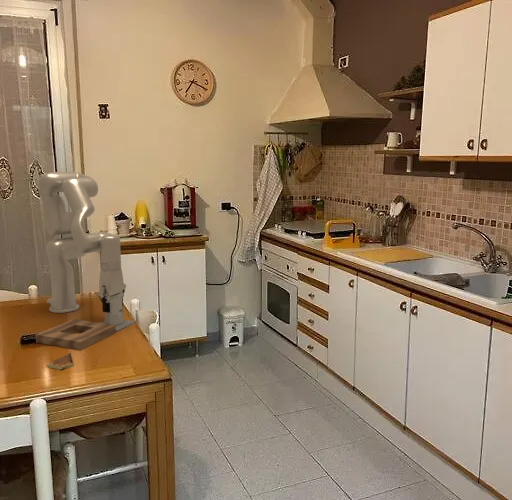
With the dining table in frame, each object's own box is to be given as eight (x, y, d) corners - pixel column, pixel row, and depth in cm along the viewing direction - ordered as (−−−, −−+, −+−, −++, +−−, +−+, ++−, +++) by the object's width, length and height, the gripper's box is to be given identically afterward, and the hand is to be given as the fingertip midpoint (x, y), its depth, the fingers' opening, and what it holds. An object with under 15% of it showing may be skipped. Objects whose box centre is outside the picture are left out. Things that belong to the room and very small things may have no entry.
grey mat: (92, 327, 205) (92, 326, 205) (111, 319, 216) (111, 318, 216) (117, 331, 201) (117, 330, 201) (135, 322, 212) (135, 321, 212)
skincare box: (110, 326, 205) (108, 297, 203) (104, 324, 208) (102, 294, 206) (124, 323, 210) (122, 294, 207) (118, 320, 213) (116, 291, 210)
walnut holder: (36, 342, 189) (35, 334, 189) (74, 326, 207) (73, 318, 207) (80, 350, 182) (79, 341, 181) (115, 332, 200) (115, 325, 200)
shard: (70, 356, 177) (70, 351, 177) (88, 360, 174) (87, 355, 174) (45, 368, 167) (45, 363, 167) (64, 372, 164) (63, 367, 164)
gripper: (117, 261, 214) (118, 302, 217) (88, 269, 198) (91, 314, 201) (132, 262, 211) (133, 304, 214) (105, 271, 195) (107, 316, 198)
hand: (113, 309), depth 208 cm, fingers open, 7 cm apart
